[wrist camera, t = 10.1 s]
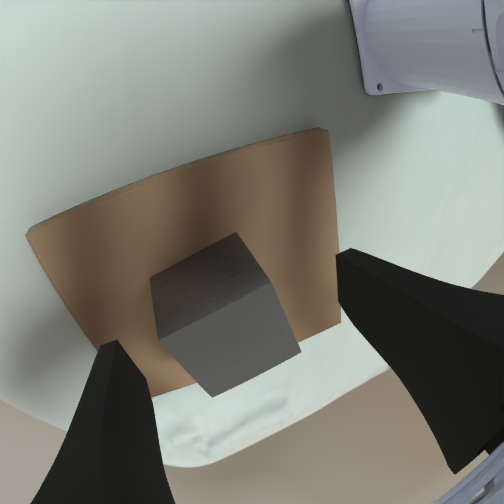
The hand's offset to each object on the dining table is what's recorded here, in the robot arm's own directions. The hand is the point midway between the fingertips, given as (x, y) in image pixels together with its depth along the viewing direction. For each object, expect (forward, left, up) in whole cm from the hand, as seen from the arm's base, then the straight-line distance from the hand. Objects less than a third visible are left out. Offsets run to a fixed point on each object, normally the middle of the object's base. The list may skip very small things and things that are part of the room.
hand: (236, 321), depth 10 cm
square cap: (0, +5, -8) cm, 9 cm away
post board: (0, +5, -9) cm, 10 cm away
